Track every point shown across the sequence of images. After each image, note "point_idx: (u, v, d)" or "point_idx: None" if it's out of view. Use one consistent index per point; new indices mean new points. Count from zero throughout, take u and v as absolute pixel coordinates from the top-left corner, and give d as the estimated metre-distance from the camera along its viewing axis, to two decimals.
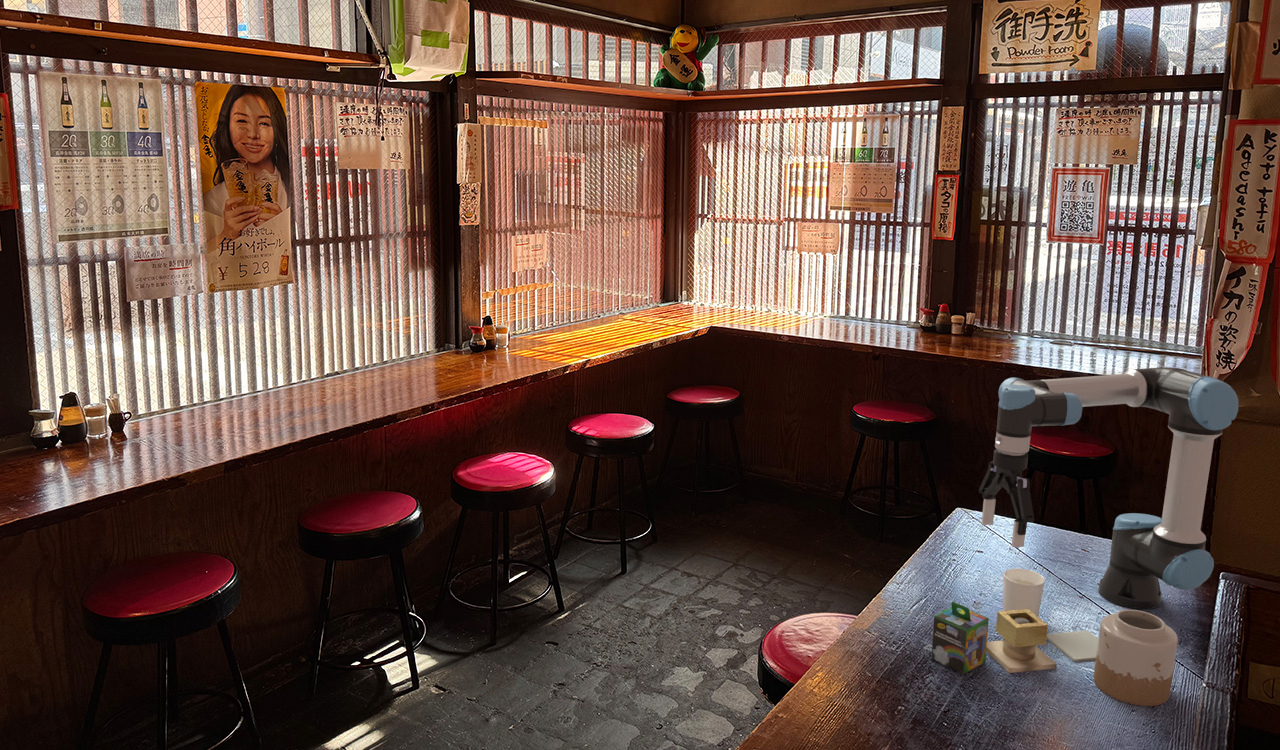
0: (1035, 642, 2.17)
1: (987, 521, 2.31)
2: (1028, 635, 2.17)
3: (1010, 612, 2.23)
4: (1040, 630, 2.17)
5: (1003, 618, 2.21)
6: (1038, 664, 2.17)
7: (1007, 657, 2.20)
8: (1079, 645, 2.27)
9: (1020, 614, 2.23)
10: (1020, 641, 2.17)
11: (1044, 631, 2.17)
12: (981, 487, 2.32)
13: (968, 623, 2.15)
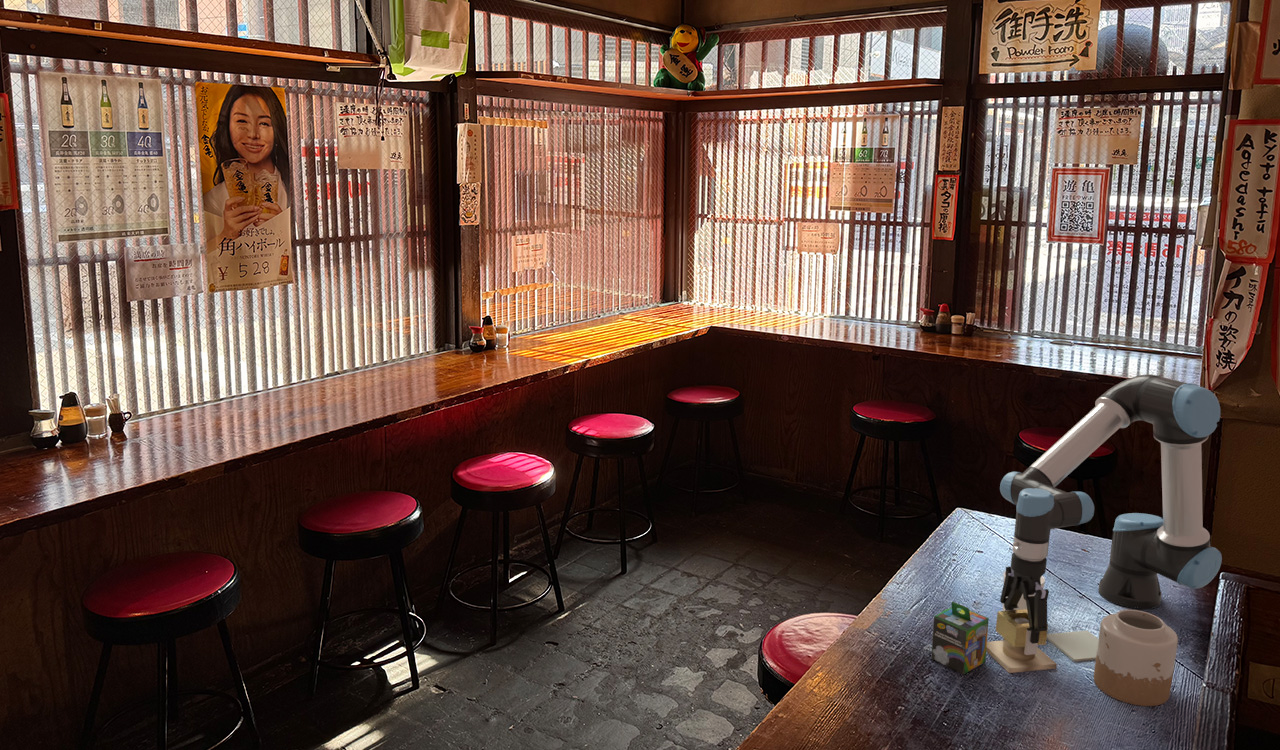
0: None
1: None
2: None
3: (1010, 612, 2.23)
4: None
5: (1003, 618, 2.21)
6: (1038, 664, 2.17)
7: (1007, 657, 2.20)
8: (1079, 645, 2.27)
9: (1020, 614, 2.23)
10: (1020, 641, 2.17)
11: (1044, 631, 2.17)
12: (1002, 596, 2.26)
13: (968, 623, 2.15)
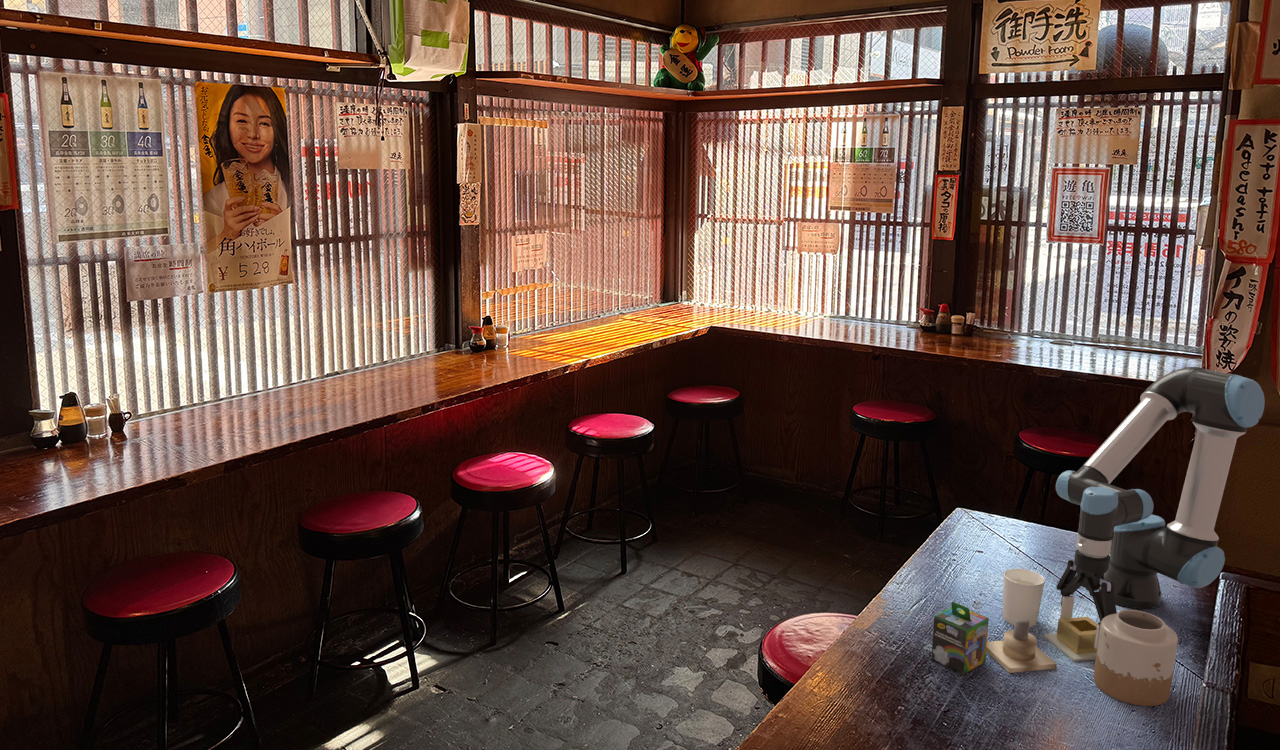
0: (1096, 649, 2.24)
1: (1065, 618, 2.32)
2: (1089, 642, 2.23)
3: (1071, 620, 2.29)
4: None
5: (1064, 625, 2.27)
6: (1038, 664, 2.17)
7: (1007, 657, 2.20)
8: None
9: (1080, 622, 2.29)
10: (1082, 648, 2.23)
11: None
12: (1059, 584, 2.33)
13: (968, 623, 2.15)
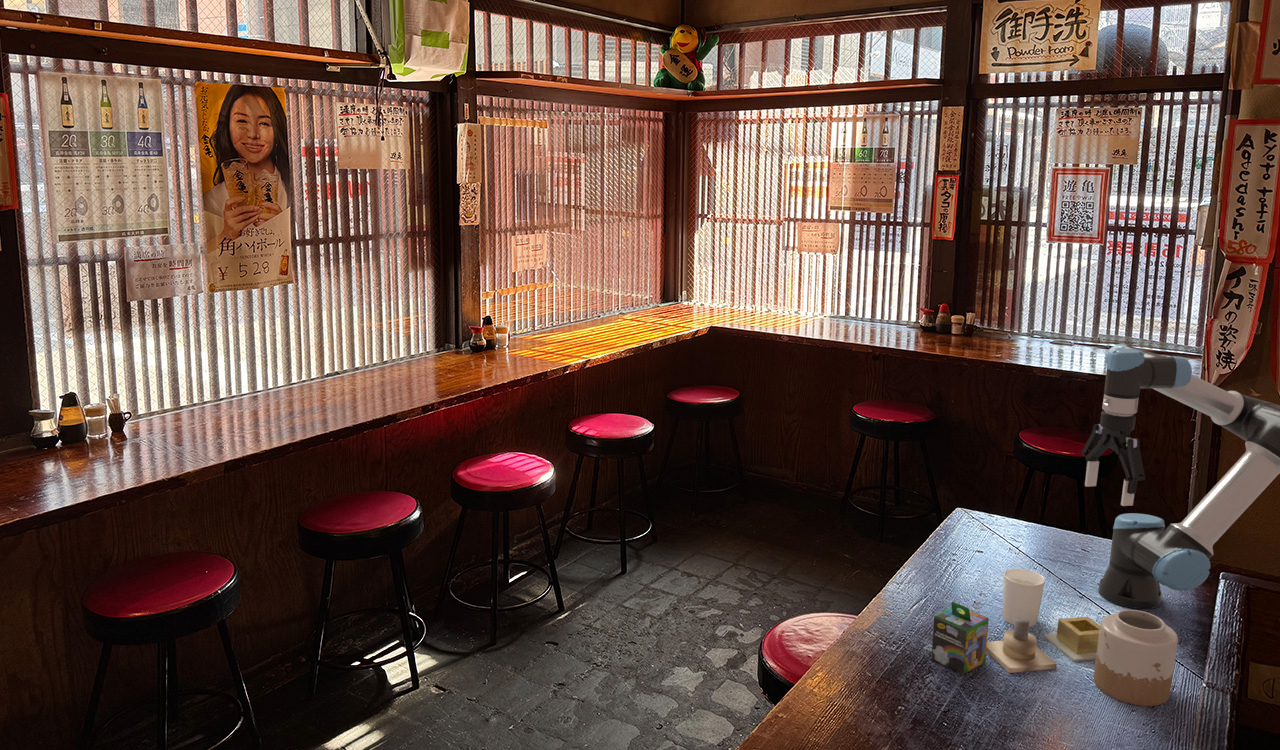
0: (1096, 649, 2.24)
1: (1090, 483, 2.37)
2: (1089, 642, 2.23)
3: (1071, 620, 2.29)
4: None
5: (1064, 625, 2.27)
6: (1038, 664, 2.17)
7: (1007, 657, 2.20)
8: None
9: (1080, 622, 2.29)
10: (1082, 648, 2.23)
11: None
12: (1084, 450, 2.37)
13: (968, 623, 2.15)
